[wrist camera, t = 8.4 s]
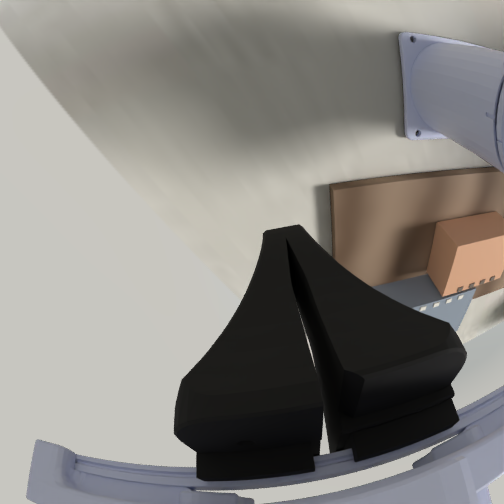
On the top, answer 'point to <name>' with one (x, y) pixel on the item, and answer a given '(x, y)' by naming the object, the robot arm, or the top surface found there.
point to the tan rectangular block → (467, 252)
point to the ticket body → (429, 298)
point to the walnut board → (406, 220)
